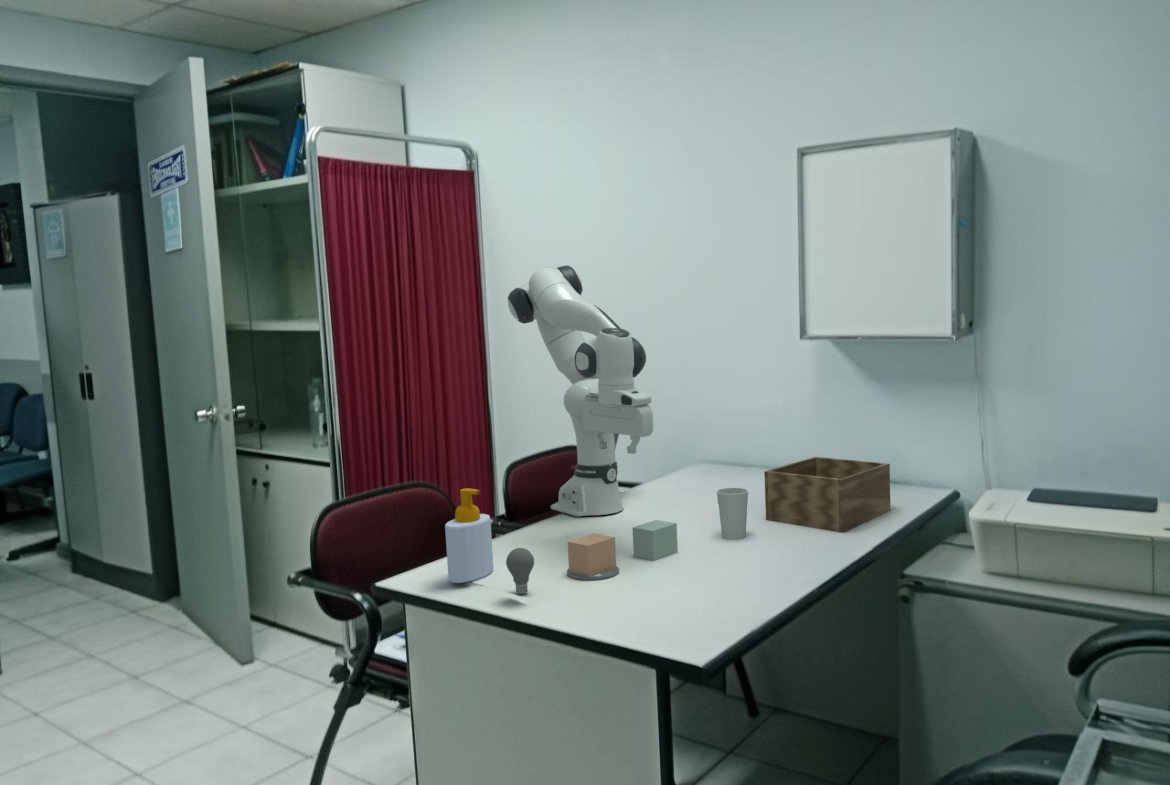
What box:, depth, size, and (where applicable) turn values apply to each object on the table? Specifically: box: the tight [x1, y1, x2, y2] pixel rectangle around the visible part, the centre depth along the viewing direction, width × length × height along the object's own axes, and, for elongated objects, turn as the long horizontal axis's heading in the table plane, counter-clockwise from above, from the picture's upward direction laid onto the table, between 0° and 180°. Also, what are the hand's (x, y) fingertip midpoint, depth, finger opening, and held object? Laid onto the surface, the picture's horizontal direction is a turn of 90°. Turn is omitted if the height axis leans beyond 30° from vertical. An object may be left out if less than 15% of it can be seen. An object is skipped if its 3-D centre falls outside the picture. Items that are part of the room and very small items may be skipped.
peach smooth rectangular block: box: [567, 532, 617, 577], centre depth 211 cm, size 6×9×7 cm
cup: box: [716, 487, 749, 541], centre depth 236 cm, size 8×8×12 cm
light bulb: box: [505, 547, 535, 595], centre depth 198 cm, size 6×6×10 cm
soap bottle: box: [444, 487, 494, 584], centre depth 213 cm, size 13×8×20 cm, turn 148°
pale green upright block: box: [632, 519, 679, 561], centre depth 223 cm, size 6×9×7 cm
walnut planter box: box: [763, 456, 891, 534], centre depth 250 cm, size 23×26×14 cm
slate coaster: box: [566, 565, 620, 582], centre depth 211 cm, size 12×12×1 cm
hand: (617, 451), depth 226 cm, fingers open, 8 cm apart
